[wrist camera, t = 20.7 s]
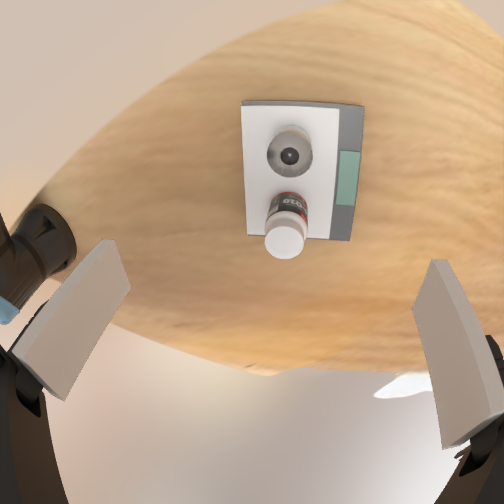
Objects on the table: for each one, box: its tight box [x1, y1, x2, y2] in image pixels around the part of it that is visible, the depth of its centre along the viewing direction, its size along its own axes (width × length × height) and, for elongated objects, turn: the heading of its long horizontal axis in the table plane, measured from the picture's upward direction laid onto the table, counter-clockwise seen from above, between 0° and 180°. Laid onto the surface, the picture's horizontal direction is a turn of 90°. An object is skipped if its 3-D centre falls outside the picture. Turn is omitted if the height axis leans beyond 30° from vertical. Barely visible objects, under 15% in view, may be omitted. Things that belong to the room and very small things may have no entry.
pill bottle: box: [264, 191, 308, 259], centre depth 32 cm, size 5×5×8 cm
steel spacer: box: [267, 124, 313, 178], centre depth 28 cm, size 4×4×6 cm
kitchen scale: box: [241, 100, 364, 241], centre depth 34 cm, size 14×18×3 cm
